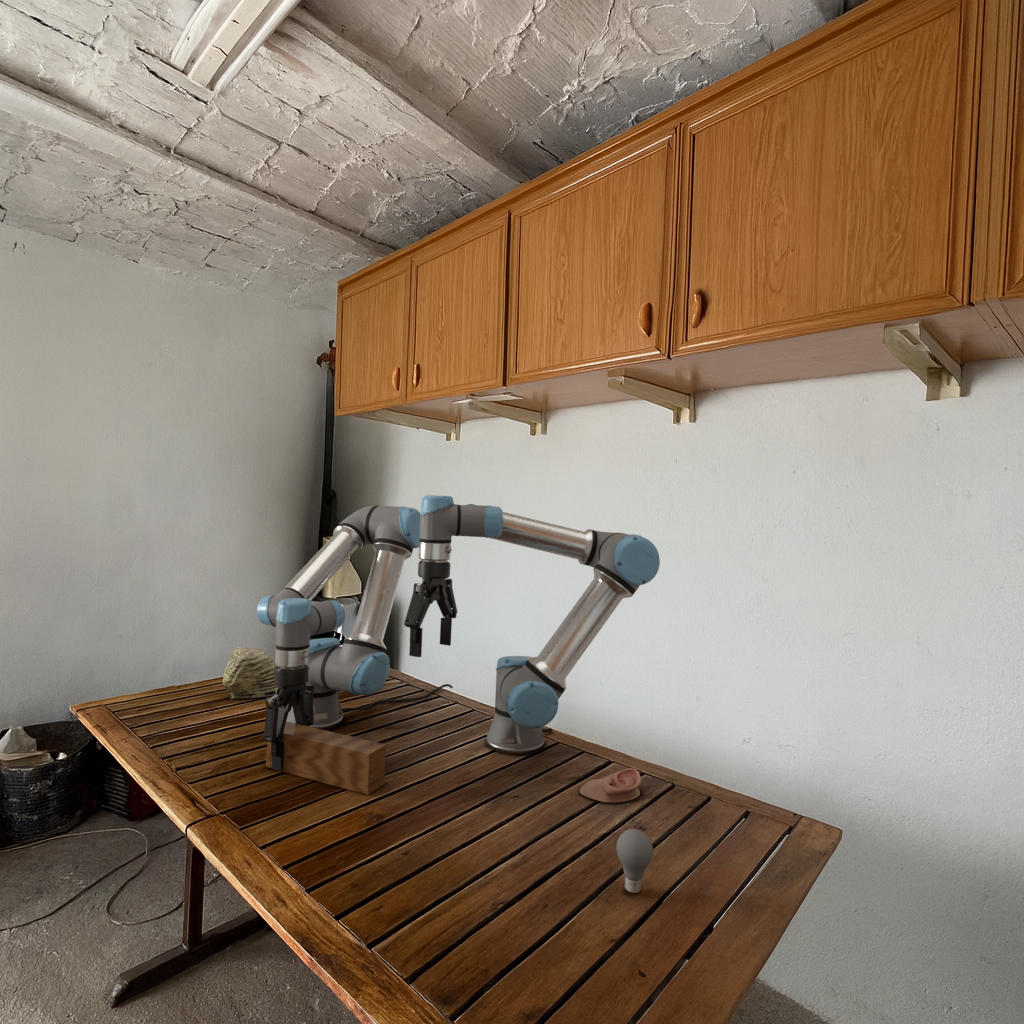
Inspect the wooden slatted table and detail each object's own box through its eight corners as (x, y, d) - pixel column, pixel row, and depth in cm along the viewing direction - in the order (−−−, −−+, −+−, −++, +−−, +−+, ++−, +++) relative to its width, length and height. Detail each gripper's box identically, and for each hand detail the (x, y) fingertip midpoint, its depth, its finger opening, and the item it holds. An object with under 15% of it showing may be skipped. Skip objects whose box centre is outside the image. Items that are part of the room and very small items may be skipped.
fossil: (218, 695, 195) (220, 647, 195) (278, 685, 208) (279, 640, 207) (228, 703, 189) (230, 653, 188) (289, 692, 201) (290, 645, 201)
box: (266, 767, 147) (267, 729, 147) (285, 757, 153) (286, 721, 152) (367, 795, 135) (369, 754, 135) (384, 783, 141) (386, 744, 141)
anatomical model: (578, 780, 137) (583, 760, 149) (577, 799, 137) (582, 776, 149) (641, 789, 135) (641, 767, 146) (640, 807, 135) (640, 784, 146)
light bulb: (610, 879, 108) (613, 822, 108) (644, 879, 109) (647, 822, 109) (619, 902, 102) (622, 840, 102) (655, 901, 103) (658, 840, 103)
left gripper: (273, 677, 137) (269, 783, 138) (332, 659, 155) (328, 752, 155) (247, 672, 141) (244, 775, 141) (308, 654, 158) (304, 746, 158)
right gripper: (419, 566, 136) (415, 664, 137) (473, 558, 159) (469, 642, 160) (390, 563, 139) (386, 659, 140) (446, 556, 162) (443, 638, 163)
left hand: (288, 763), depth 148 cm, fingers closed on box, 6 cm apart
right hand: (430, 650), depth 150 cm, fingers open, 13 cm apart
